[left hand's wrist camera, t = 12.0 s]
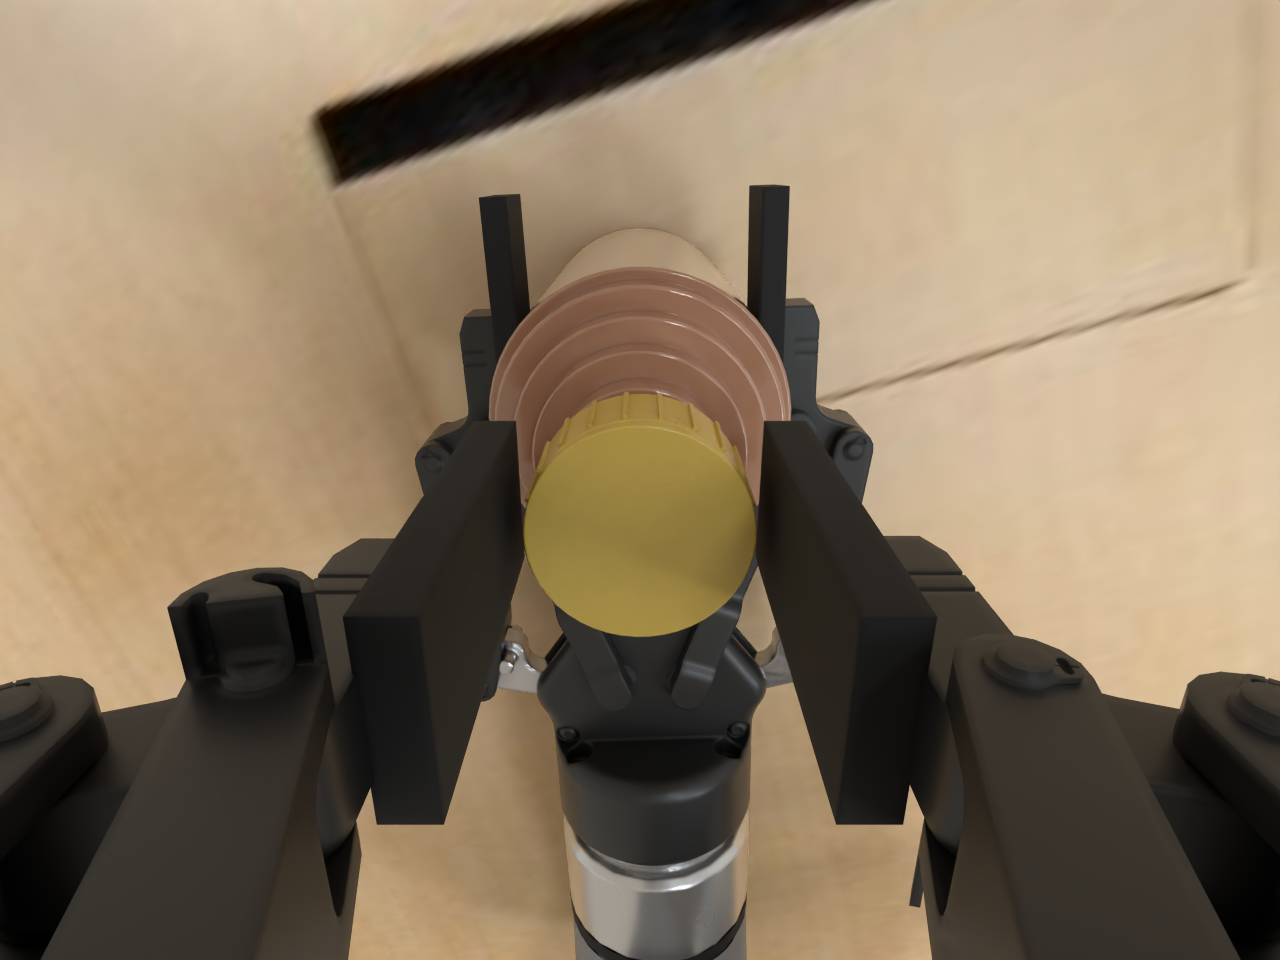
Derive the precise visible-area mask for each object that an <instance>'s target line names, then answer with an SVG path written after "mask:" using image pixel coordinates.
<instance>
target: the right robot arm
mask: <svg viewBox="0 0 1280 960" xmlns="http://www.w3.org/2000/svg"><path fill="white" fill-rule="evenodd" d="M789 190H790V186H783V185H752V186H749V241H748V299H747V308H748V309H749V310H750V312H751V313H752V314H753V315H754V317H755V318H756V319H757V320H758V322H759V323H760V324H761V326H762V327H763V329H764V330H765V331H766V333H767V334H768V335H769V337H770V339H771V341H772V342H773V344H774V346H775V348H776V350H777V352H778V353H779V356H780V359H781V361H782V364H783V367H784V369H785V372H786V377H787V381H788V385H789V390H790V401H791V421H807V423H808V424H809V426H810V427H811V429H812V430H813V432H814V433H815V435H816V436H817V438H818V439H819V441H820V442H821V444H822V445H823V447H824V448H825V450H826V451H827V453H828V454H829V456H830V457H831V459H832V460H833V462H834V463H835V465H836V466H837V468H838V469H839V471H840V472H841V474H842V475H843V477H844V478H845V480H846V481H847V483H848V484H849V485H850V487H851V488H852V490H853V491H854V493H855V494H856V496H857V497H858V499H859V500H860V502H861V503H862V500H863V496H864V491H865V486H866V482H867V477H868V472H869V468H870V463H871V459H872V454H873V443H872V441H871V438H870V437H869V436H868V435H867V434H866V432H865V431H864V430H863V429H862V428H861V427H860V425H859V424H858V423H857V422H856V421H855V420H854V419H853V417H852V416H851V415H850V414H848V413H847V412H846V411H843V410H840V409H839V410H831V409H828V408H825V407H822V406H820V405H818V404H817V403H816V379H817V359H818V355H817V353H818V339H819V319H818V316H817V313H816V311H815V308H814V305H813V304H811V303H810V302H809V301H807V300H806V299H805V298H793V299H786V275H787V247H788V218H789ZM479 204H480V213H481V222H482V232H483V241H484V251H485V260H486V270H487V279H488V289H489V298H490V308H491V309H476V310H472V311H471V312H470V313H469V314H468V315H466V316H465V317H464V320H463V323H462V327H461V331H460V342H461V350H462V358H463V365H464V374H465V383H466V391H467V399H468V407H469V413H468V416H467V417H465V418H463V419H460V420H458V421H455V422H446V423H443V424H441V425H440V426H439V427H438V428H437V429H436V430H435V431H434V432H433V433H432V435H431V436H430V437H429V438H428V440H427V441H426V442H425V443H424V445H423V446H422V447H421V449H420V450H419V451H418V452H417V455H416V458H415V465H416V469H417V472H418V476H419V479H420V483H421V486H422V490H423V493H424V494H425V493H426V491H427V490H428V488H429V487H430V485H431V484H432V482H433V481H434V480H435V478H436V477H437V475H438V474H439V472H440V471H441V469H442V468H443V466H444V465H445V463H446V462H447V460H448V459H449V457H450V456H451V454H452V453H453V451H454V450H455V448H456V447H457V445H458V444H459V442H460V441H461V439H462V438H463V436H464V435H465V433H466V432H467V430H468V429H469V427H470V426H471V424H472V423H473V421H489V402H490V392H491V387H492V381H493V376H494V373H495V370H496V367H497V364H498V361H499V358H500V356H501V354H502V352H503V350H504V348H505V346H506V344H507V342H508V340H509V339H510V337H511V336H512V334H513V333H514V331H515V330H516V329H517V327H518V326H519V324H520V323H521V322H522V320H523V319H524V318H525V317H526V315H527V314H528V313H529V312H530V303H529V292H528V280H527V269H526V257H525V246H524V234H523V223H522V212H521V200H520V194H510V195H493V196H486V197H480V198H479ZM521 508H522V524H523V523H524V515H525V510H526V509H525V507H524V506H523V505H522V503H521ZM758 508H759V504H758V505H757V507H756V508H754V509H755V513H756V521H757V524H758ZM523 540H524V539H523ZM524 549H525V547H524ZM755 556H756V548H755V553H754V557H753V560H752V563H751V566H750V568H749V570H748V573H747V575H746V577H745V579H744V580H743V582H742V583H741V585H740V586H739V588H738V589H737V591H736V592H735V593H734V594H733V596H732V597H731V598H730V599H729V600H728V601H727V602H726V603H725V604H724V605H723V606H722V607H721V608H719V609H718V610H717V611H716V612H715V613H713V614H712V615H710V616H709V617H707V618H706V619H704V620H702V621H700V622H699V623H697V624H695V625H693V626H691V627H688V628H685V629H682V630H680V631H677V632H673V633H669V634H665V635H658V636H650V637H632V636H621V635H616V634H612V633H607V632H604V631H601V630H598V629H595V628H592V627H590V626H588V625H586V624H583V623H581V622H579V621H578V620H576V619H575V618H573V617H571V616H570V615H568V614H567V613H566V612H564V611H563V610H562V609H561V608H559V607H558V606H557V605H556V604H555V603H554V602H553V604H554V606H555V611H556V616H557V620H558V622H559V625H560V627H561V629H562V630H563V633H562V635H561V636H560V638H559V639H558V640H557V642H556V643H555V644H554V646H553V647H552V648H551V650H550V651H549V652H548V654H547V655H546V656H545V658H542V657H538V656H537V655H535V654H534V653H533V652H532V651H531V650H530V648H529V644H528V639H527V637H526V635H525V634H524V633H523V630H522V628H521V627H520V626H517V625H512V626H511V617H512V614H511V603H510V606H509V610H508V613H507V616H506V620H505V623H504V626H503V630H502V633H501V636H500V640H499V643H498V646H497V650H496V653H495V656H494V659H493V663H492V666H491V669H490V673H489V676H488V679H487V683H486V686H485V689H484V693H483V696H482V699H481V701H487V700H490V699H491V698H492V697H493V696H494V695H495V692H496V690H497V688H503V689H509V690H516V691H522V692H529V693H535V694H537V696H538V699H539V701H540V703H541V705H542V706H543V707H544V709H545V710H546V711H547V712H548V714H549V715H550V717H551V719H552V721H553V724H554V729H555V738H556V748H557V759H558V770H559V780H560V791H561V801H562V808H563V811H564V819H563V826H564V835H565V844H566V853H567V862H568V871H569V881H570V894H571V901H572V908H573V913H574V930H575V948H576V960H746V911H745V908H746V898H747V885H748V860H749V808H748V805H749V797H750V763H751V723H752V717H753V714H754V711H755V709H756V708H757V706H758V705H759V703H760V702H761V700H762V699H763V697H764V695H765V692H766V688H769V687H773V686H778V685H783V684H787V683H792V682H793V679H792V676H791V673H790V669H789V666H788V663H787V660H786V656H785V653H784V650H783V646H782V643H781V640H780V636H779V633H778V630H777V626H776V627H775V628H774V631H773V634H772V641H771V644H770V645H769V646H768V648H766V649H765V650H763V651H760V652H757V651H756V650H755V648H754V647H753V646H752V645H751V644H750V643H749V641H748V640H747V639H746V638H745V637H744V636H743V634H742V633H741V632H740V631H739V630H738V629H737V627H736V624H737V622H738V620H739V617H740V613H741V608H742V601H743V598H744V595H745V593H746V591H747V588H748V586H749V584H750V582H751V579H752V577H753V575H754V573H755V571H756V568H757V566H758V563H757V560H756V557H755Z"/></svg>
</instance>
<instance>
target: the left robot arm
mask: <svg viewBox="0 0 1280 960" xmlns="http://www.w3.org/2000/svg"><path fill="white" fill-rule="evenodd" d="M524 557H525V556H524V540H523V524H522V508H521V492H520V476H519V460H518V444H517V428H516V421H473V423H472V424H471V426H470V427H469V429H468V430H467V432H466V433H465V435H464V436H463V438H462V439H461V441H460V442H459V444H458V445H457V447H456V448H455V450H454V451H453V453H452V454H451V456H450V457H449V459H448V460H447V462H446V463H445V465H444V466H443V468H442V469H441V471H440V472H439V474H438V475H437V477H436V478H435V480H434V481H433V482H432V484H431V485H430V487H429V488H428V490H427V491H426V493H425V494H424V496H423V497H422V499H421V500H420V502H419V503H418V505H417V506H416V508H415V509H414V511H413V512H412V514H411V515H410V517H409V518H408V520H407V521H406V523H405V524H404V526H403V527H402V529H401V530H400V532H399V533H398V535H397V536H396V538H395V539H360V540H358V541H356V542H355V543H353V544H351V545H350V546H348V547H346V548H345V549H343V550H341V551H340V552H338V553H336V554H335V555H333V556H332V558H331V559H330V560H329V561H328V563H327V564H326V565H325V566H324V568H323V569H322V570H321V571H320V573H319V574H318V578H315V579H314V580H312V579H311V578H310V577H308V576H307V575H306V574H304V573H303V572H301V571H296V570H291V569H287V568H254V569H249V570H243V571H237V572H232V573H228V574H225V575H222V576H219V577H216V578H213V579H210V580H207V581H204V582H202V583H200V584H198V585H197V586H195V587H193V588H191V589H189V590H187V591H186V592H184V593H182V594H181V595H180V596H179V597H178V598H177V599H176V600H174V601H173V602H172V603H171V604H170V605H169V606H168V607H167V608H168V612H169V616H170V620H171V624H172V627H173V631H174V635H175V639H176V643H177V647H178V650H179V654H180V658H181V662H182V666H183V669H184V673H185V677H186V681H185V683H184V685H183V687H182V689H181V691H180V692H179V694H178V696H177V697H176V698H172V699H168V700H164V701H160V702H155V703H149V704H144V705H139V706H134V707H128V708H123V709H118V710H113V711H108V712H102V713H101V710H100V707H99V704H98V701H97V698H96V694H95V691H94V688H93V687H92V686H90V685H89V684H88V683H87V682H85V681H84V680H83V679H80V678H74V677H67V676H61V675H60V676H50V677H40V678H28V679H22V680H17V681H16V683H13V682H10V683H7V684H3V685H0V960H348V955H349V948H350V940H351V932H352V924H353V917H354V909H355V901H356V893H357V886H358V878H359V870H360V862H361V855H362V854H361V847H360V840H359V834H358V828H357V823H356V819H357V817H358V815H359V813H360V810H361V808H362V806H363V804H364V801H365V799H366V797H367V794H368V792H369V790H370V788H371V792H372V798H373V804H374V810H375V816H376V822H377V825H444V822H445V819H446V816H447V812H448V809H449V806H450V802H451V799H452V796H453V792H454V789H455V786H456V782H457V779H458V776H459V772H460V769H461V766H462V762H463V759H464V756H465V753H466V749H467V746H468V743H469V739H470V736H471V733H472V729H473V726H474V723H475V719H476V716H477V713H478V709H479V706H480V703H481V699H482V696H483V693H484V689H485V686H486V683H487V679H488V676H489V673H490V669H491V666H492V663H493V659H494V656H495V653H496V650H497V646H498V643H499V640H500V636H501V633H502V630H503V626H504V623H505V620H506V616H507V613H508V610H509V606H510V603H511V600H512V596H513V593H514V590H515V586H516V583H517V580H518V576H519V573H520V570H521V566H522V563H523V560H524ZM755 557H756V560H757V563H758V566H759V570H760V573H761V576H762V580H763V583H764V586H765V590H766V593H767V596H768V600H769V603H770V606H771V610H772V613H773V616H774V620H775V623H776V626H777V630H778V633H779V636H780V640H781V643H782V646H783V650H784V653H785V656H786V660H787V663H788V666H789V669H790V673H791V676H792V679H793V683H794V686H795V689H796V693H797V696H798V699H799V703H800V706H801V709H802V713H803V716H804V719H805V723H806V726H807V729H808V733H809V736H810V739H811V743H812V746H813V749H814V753H815V756H816V759H817V762H818V766H819V769H820V772H821V776H822V779H823V782H824V786H825V789H826V792H827V796H828V799H829V802H830V806H831V809H832V812H833V816H834V819H835V822H836V825H903V822H904V816H905V810H906V804H907V798H908V792H909V786H911V788H912V790H913V793H914V795H915V797H916V799H917V802H918V804H919V806H920V808H921V811H922V813H923V815H924V823H923V828H922V834H921V839H920V845H919V851H918V856H917V862H916V867H915V873H914V879H913V884H912V890H911V897H910V904H909V906H915V907H920V905H921V899H922V894H923V892H924V899H925V907H926V915H927V922H928V930H929V938H930V946H931V953H932V960H1280V681H1277V680H1274V679H1271V678H1269V679H1265V677H1263V676H1258V675H1253V674H1238V673H1228V672H1216V673H1210V674H1203V675H1199V676H1197V677H1196V678H1195V679H1194V680H1192V681H1191V682H1190V683H1189V684H1188V685H1187V688H1186V691H1185V694H1184V697H1183V701H1182V704H1181V707H1180V709H1176V708H1171V707H1165V706H1160V705H1155V704H1150V703H1144V702H1139V701H1134V700H1129V699H1123V698H1118V697H1114V696H1110V695H1106V694H1102V693H1101V691H1100V689H1099V687H1098V685H1097V683H1096V681H1095V680H1094V678H1093V677H1092V676H1091V675H1090V673H1089V672H1088V671H1087V670H1086V669H1085V667H1084V666H1083V665H1082V664H1081V663H1080V662H1078V661H1077V660H1075V659H1074V658H1072V657H1070V656H1069V655H1067V654H1066V653H1064V652H1063V651H1061V650H1059V649H1057V648H1054V647H1052V646H1049V645H1047V644H1044V643H1042V642H1039V641H1037V640H1034V639H1029V638H1024V637H1019V636H1014V635H1013V634H1012V632H1011V631H1010V630H1009V629H1008V627H1007V626H1006V625H1005V624H1004V623H1003V621H1002V620H1001V619H1000V618H999V616H998V615H997V614H996V613H995V611H994V610H993V609H992V608H991V606H990V605H989V604H988V603H987V602H986V600H985V599H984V598H983V597H982V595H981V594H980V593H979V592H975V587H974V585H973V584H972V583H971V582H970V580H969V579H968V578H967V577H966V576H965V575H962V571H961V569H960V568H959V567H958V566H957V564H956V563H955V562H954V561H953V559H952V558H951V557H950V556H949V554H948V553H947V552H945V551H944V550H942V549H940V548H939V547H937V546H935V545H934V544H932V543H930V542H928V541H927V540H925V539H923V538H922V537H920V536H883V535H882V533H881V532H880V530H879V529H878V527H877V526H876V524H875V523H874V521H873V520H872V518H871V517H870V515H869V514H868V512H867V511H866V509H865V508H864V506H863V505H862V503H861V502H860V500H859V499H858V497H857V496H856V494H855V493H854V491H853V490H852V488H851V487H850V485H849V484H848V483H847V481H846V480H845V478H844V477H843V475H842V474H841V472H840V471H839V469H838V468H837V466H836V465H835V463H834V462H833V460H832V459H831V457H830V456H829V454H828V453H827V451H826V450H825V448H824V447H823V445H822V444H821V442H820V441H819V439H818V438H817V436H816V435H815V433H814V432H813V430H812V429H811V427H810V426H809V424H808V423H807V421H764V428H763V444H762V460H761V476H760V492H759V508H758V524H757V542H756V556H755Z"/></svg>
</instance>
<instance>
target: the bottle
mask: <svg viewBox="0 0 1280 960" xmlns="http://www.w3.org/2000/svg"><path fill="white" fill-rule="evenodd" d="M624 392H629V394H651V395H657V393H662V396H664V397H668V398H672V399H675V400H678V401H680V402H683V403H685V404H687V405H688V404H689V403H691V404H693V406H694V408H695V409H697V410H698V411H700V412H701V413H703V414H704V415H705V416H707V417H708V418H709V419H710V420H712V421H713V422H715V421H717V422H718V423H719V425H720V428H721V431H722V432H723V433H724V434H725V436H726V437H727V438H728V440H729V442H730V443H731V445H732V447H733V446H735V445H736V447H737V449H738V452H739V455H740V458H741V461H742V464H743V466H744V469H745V472H746V475H747V479H748V482H749V485H750V488H751V490H752V493H753V496H754V499H755V502H756V506H757V505H758V504H759V492H760V476H761V460H762V444H763V428H764V421H791V401H790V390H789V385H788V381H787V377H786V372H785V369H784V367H783V364H782V361H781V359H780V356H779V353H778V352H777V350H776V348H775V346H774V344H773V342H772V341H771V339H770V337H769V335H768V334H767V333H766V331H765V330H764V329H763V327H762V326H761V324H760V323H759V322H758V320H757V319H756V318H755V317H754V315H753V314H752V313H751V312H750V310H749V309H748V308H747V307H746V305H745V304H744V303H743V302H742V300H741V299H740V298H739V296H738V295H737V294H736V293H735V291H734V290H733V289H732V288H731V286H730V285H729V284H728V283H727V281H726V280H725V279H724V278H723V276H722V275H721V274H720V273H719V271H718V270H717V269H716V268H715V266H714V265H713V264H712V263H711V261H710V260H709V259H708V258H707V257H706V256H705V255H704V254H703V253H702V252H701V251H700V250H699V249H697V248H696V247H695V246H693V245H692V244H691V243H689V242H687V241H686V240H684V239H682V238H680V237H678V236H676V235H673V234H671V233H668V232H664V231H660V230H656V229H647V228H631V229H625V230H619V231H616V232H613V233H609V234H607V235H604V236H602V237H600V238H598V239H596V240H594V241H593V242H591V243H590V244H588V245H587V246H585V247H584V248H583V249H582V250H580V251H579V252H578V253H577V254H576V255H575V256H574V257H573V258H572V259H571V261H570V262H569V263H568V264H567V265H566V266H565V268H564V269H563V270H562V271H561V273H560V274H559V275H558V276H557V278H556V279H555V280H554V282H553V283H552V284H551V285H550V287H549V288H548V289H547V290H546V292H545V293H544V294H543V295H542V297H541V298H540V299H539V300H538V302H537V303H536V304H535V305H534V307H533V308H532V309H531V310H530V312H529V313H528V314H527V315H526V317H525V318H524V319H523V320H522V322H521V323H520V324H519V326H518V327H517V329H516V330H515V331H514V333H513V334H512V336H511V337H510V339H509V340H508V342H507V344H506V346H505V348H504V350H503V352H502V354H501V356H500V358H499V361H498V364H497V367H496V370H495V373H494V376H493V381H492V387H491V392H490V402H489V421H516V428H517V444H518V460H519V476H520V492H521V503H522V505H523V506H524V507H525V509H526V505H527V503H526V502H524V501H525V497H526V494H527V491H528V489H529V486H530V483H531V480H532V477H533V474H534V472H535V469H537V467H538V464H539V461H540V458H541V455H542V452H543V449H544V447H545V444H546V442H547V441H549V442H551V440H552V439H553V437H554V436H555V435H556V433H557V432H558V431H559V430H560V429H561V428H562V426H563V425H564V421H565V419H566V418H568V417H569V418H570V419H571V418H572V417H574V416H575V415H576V414H577V413H579V412H580V411H582V410H584V409H585V408H587V407H589V406H590V405H591V404H592V402H593V401H595V400H596V401H597V402H600V401H602V400H605V399H609V398H612V397H616V396H622V395H624Z"/></svg>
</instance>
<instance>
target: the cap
mask: <svg viewBox="0 0 1280 960" xmlns="http://www.w3.org/2000/svg"><path fill="white" fill-rule="evenodd" d="M524 502H526V503H527V505H526V510H525V515H524V523H523V539H524V547H525V552H526V556H527V560H528V562H529V565H530V568H531V570H532V573H533V574H534V576H535V578H536V580H537V582H538V583H539V585H540V586H541V588H542V589H543V590H544V592H545V593H546V594H547V596H548V597H549V598H550V599H551V600H552V601H553V602H554V603H555V604H556V605H557V606H558V607H559V608H561V609H562V610H563V611H564V612H566V613H567V614H568V615H570V616H571V617H573V618H575V619H576V620H578V621H579V622H581V623H583V624H586V625H588V626H590V627H592V628H595V629H598V630H601V631H604V632H607V633H612V634H616V635H621V636H632V637H650V636H658V635H665V634H669V633H673V632H677V631H680V630H682V629H685V628H688V627H691V626H693V625H695V624H697V623H699V622H700V621H702V620H704V619H706V618H707V617H709V616H710V615H712V614H713V613H715V612H716V611H717V610H718V609H719V608H721V607H722V606H723V605H724V604H725V603H726V602H727V601H728V600H729V599H730V598H731V597H732V596H733V594H734V593H735V592H736V591H737V589H738V588H739V586H740V585H741V583H742V582H743V580H744V579H745V577H746V575H747V573H748V570H749V568H750V566H751V563H752V560H753V557H754V553H755V548H756V542H757V521H756V513H755V509H754V508H756V507H757V506H756V502H755V499H754V496H753V493H752V490H751V488H750V485H749V482H748V479H747V475H746V472H745V469H744V466H743V464H742V461H741V458H740V455H739V452H738V449H737V447H736V445H735V446H733V447H732V445H731V443H730V442H729V440H728V438H727V437H726V436H725V434H724V433H723V432H722V431H721V428H720V425H719V423H718V422H717V421H715V422H713V421H712V420H710V419H709V418H708V417H707V416H705V415H704V414H703V413H701V412H700V411H698V410H697V409H695V408H694V406H693V404H691V403H689V404H688V405H687V404H685V403H683V402H680V401H678V400H675V399H672V398H668V397H664V396H662V393H657V395H651V394H629V392H624V395H622V396H616V397H612V398H609V399H605V400H602V401H600V402H597V401H596V400H595V401H593V402H592V404H591V405H590V406H589V407H587V408H585V409H584V410H582V411H580V412H579V413H577V414H576V415H575V416H574V417H572V418H571V419H570V418H569V417H568V418H566V419H565V421H564V425H563V426H562V428H561V429H560V430H559V431H558V432H557V433H556V435H555V436H554V437H553V439H552V440H551V442H549V441H547V442H546V444H545V447H544V449H543V452H542V455H541V458H540V461H539V464H538V467H537V469H535V472H534V474H533V477H532V480H531V483H530V486H529V489H528V491H527V494H526V497H525V501H524Z"/></svg>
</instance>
